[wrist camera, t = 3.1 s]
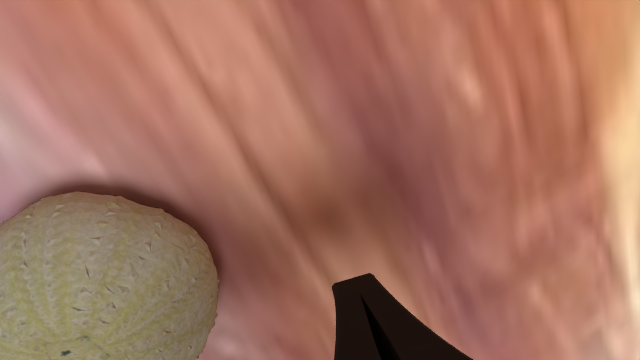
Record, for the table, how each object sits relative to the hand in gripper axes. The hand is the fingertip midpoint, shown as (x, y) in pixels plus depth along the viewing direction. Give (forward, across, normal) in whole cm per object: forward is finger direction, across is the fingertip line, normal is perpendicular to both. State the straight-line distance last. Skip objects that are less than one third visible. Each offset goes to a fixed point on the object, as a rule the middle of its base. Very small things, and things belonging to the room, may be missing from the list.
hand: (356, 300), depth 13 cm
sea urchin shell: (+6, +10, 0) cm, 11 cm away
